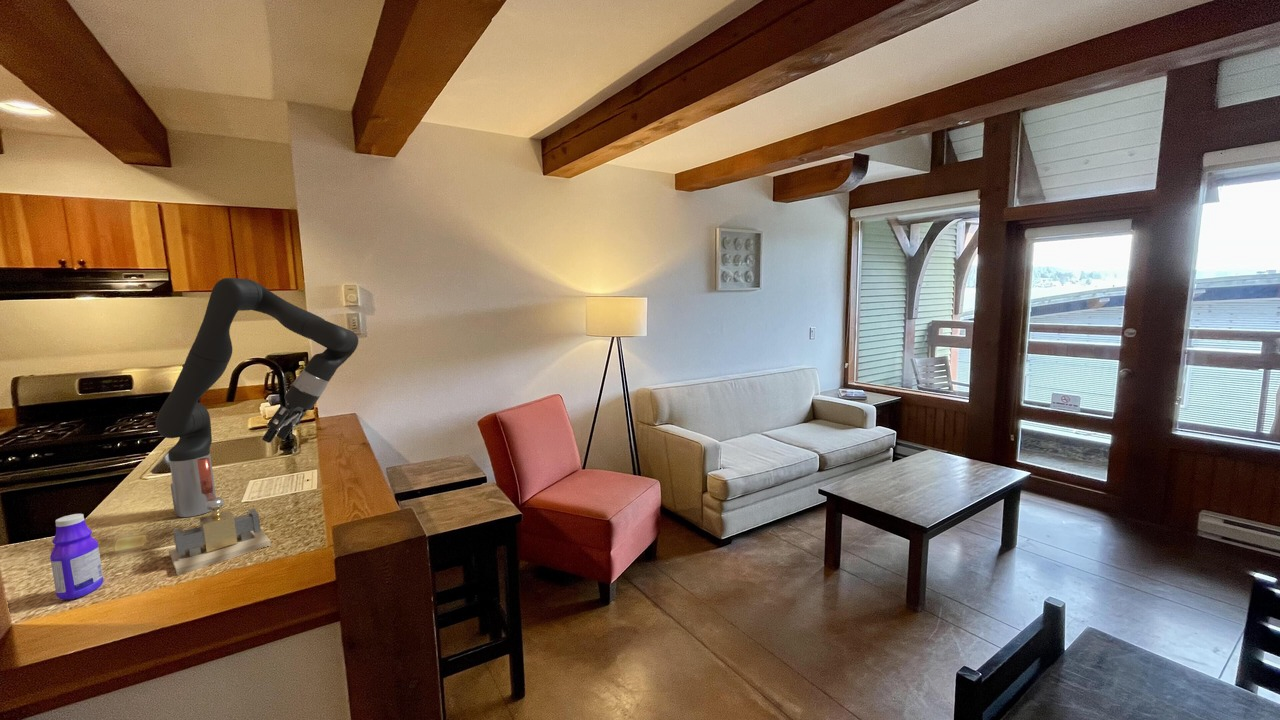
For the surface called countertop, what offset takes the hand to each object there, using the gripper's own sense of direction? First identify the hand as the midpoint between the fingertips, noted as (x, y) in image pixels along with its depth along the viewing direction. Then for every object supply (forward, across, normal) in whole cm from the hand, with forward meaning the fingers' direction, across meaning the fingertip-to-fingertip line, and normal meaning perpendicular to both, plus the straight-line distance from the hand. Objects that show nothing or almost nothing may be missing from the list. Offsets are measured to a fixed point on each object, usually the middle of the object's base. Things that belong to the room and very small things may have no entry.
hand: (273, 439), depth 140 cm
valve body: (+26, +10, +7) cm, 28 cm away
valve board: (+27, +10, +8) cm, 29 cm away
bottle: (+40, +22, -8) cm, 46 cm away
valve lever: (+18, +8, -1) cm, 20 cm away
